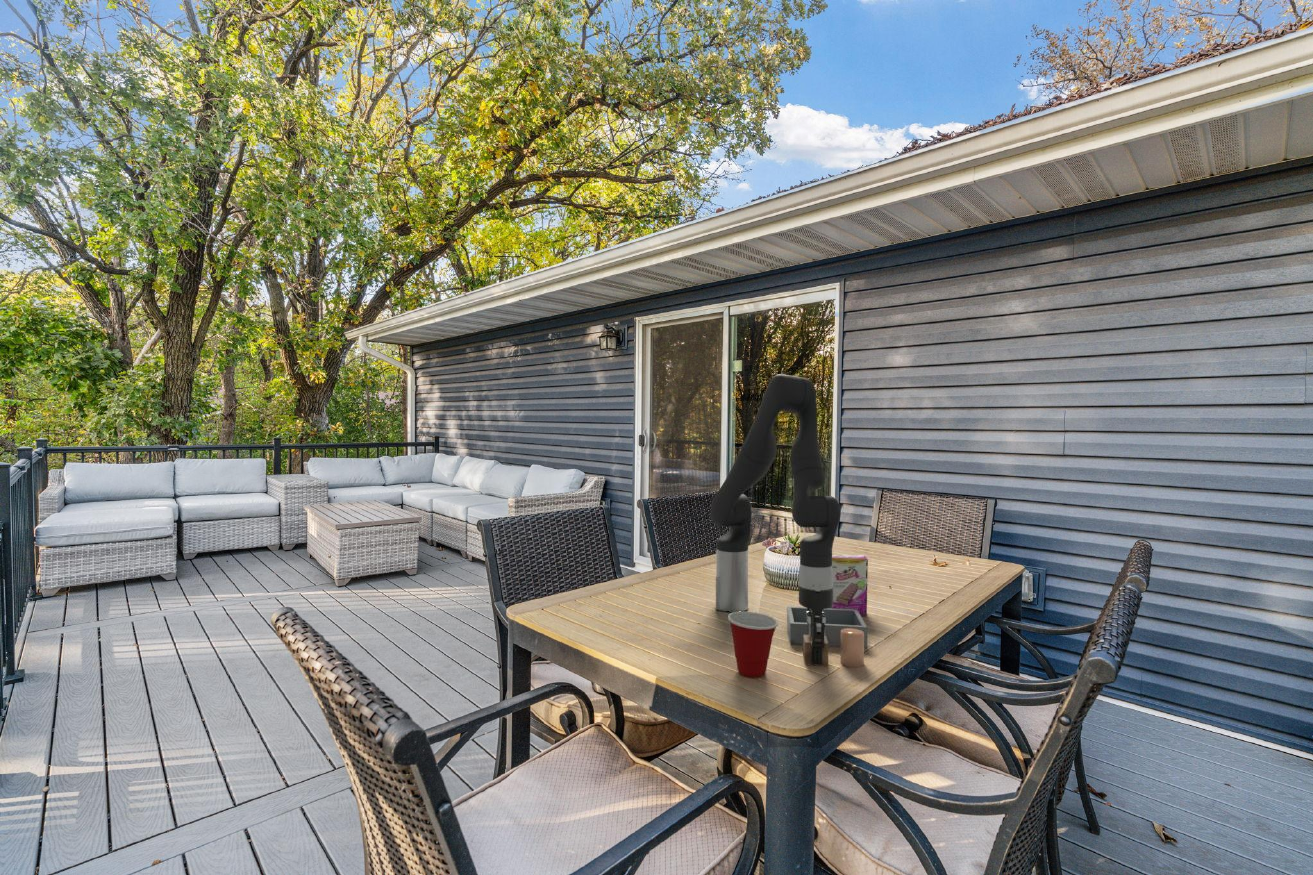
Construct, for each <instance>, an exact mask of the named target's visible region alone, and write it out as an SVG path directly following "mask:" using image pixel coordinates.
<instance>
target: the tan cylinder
mask: <svg viewBox="0 0 1313 875" xmlns="http://www.w3.org/2000/svg"><path fill="white" fill-rule="evenodd" d="M840 663H841V664H842V665H843V666H845V667H848V668H849V667H850V668H861V667H864V665H865V648H864V632H863V631H861V630H858V629H853V628H845V629H842V630H841V647H840Z"/></svg>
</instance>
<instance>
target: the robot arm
mask: <svg viewBox="0 0 1313 875" xmlns="http://www.w3.org/2000/svg"><path fill="white" fill-rule="evenodd" d="M817 407H818V406H817V395H816V389H815V386H814V383H813V382H812V380H810V379H809V378H807V377H802V376H797V375H791V374H790V375H789V374H785V373H783V374H781V373H779V374H778V373H777V374H776V375H774V376H773V377H772V378H771V379H770V381H769V383H768V385H767V387H766V389H765V391H764V394H763V397H762V400H761V403H760V405H759V408H758V410H757V413H756V416H755V419H754V421H753V423H752V425H751V428H750V430H749V432H748V433H747V436H746V437H745V440H744V442H743V443H742V445H741V448H740V449H739V452H738V454H737V457H736V459H735V461H734V463H733V465H732V467H731V469H730V470H729V473H728V475H727V476H726V478H725V480H724V481H723V483H722V484H721V486H720V488H719V490H718V491H717V492H716V494H715V495H714V497H713V499H712V502H711V504H710V510H709V516H710V519H711V522H712V523H713V524H714V525H715V526H718V527H723V528H724V527H730V528H729V530H728V531H727V532H726V533H725V534H723V535H721V536H720V537H719V538H717V539H716V544H715V545H716V546H715V547H716V550H715V551H716V554H715V555H716V557H715V558H716V559H715V560H716V562H715V563H716V565H715V567H716V569H715V570H716V574H715V610H717V611H718V610H719V611H721V612H726V611H729V612H728V613H734V612H739V611H741V612H746V611H747V610H748V609H749V543H750V541H751V530H752V516H753V515H752V503H751V501H750V498H748V496H747V495H746V494H744V493H745V492H746V491H748V490H749V489H750V488H751V487H752V486H754V485H756V484H757V483H758V482H759V481H760V480H762V479H763V478H764V476H766V474H767V473H768V471H769V470H770V468H771V466H772V464H773V463H774V461H775V459H776V457H777V452H778V451H777V450H778V448H777V446H778V445H777V440H776V435H775V432H774V425H775V422H776V419H777V417H778V415H779V414H780V413H781V412H783V413H790V414H791V413H792V414H796V415H797V418H798V422H799V429H798V433H797V434H796V437H795V440H794V441H793V443H792V446H791V448H790V455H789V458H790V459H789V460H790V465H791V472H792V476H793V483H794V485H793V499H792V500H793V502H792V507H791V508H792V510H791V515H792V519H793V521H794V522H795V524H796V525H797V526H799V527H800V528H819V529H818V532H817V533H816V534H814V535H810V536H806V537H804V538H802V539H801V541H800V545H799V568H798V569H799V570H798V603H799V605H800V606H801V607H806V608H807V609H808V611H806V619H807V630H808V632H809V633H808V635H809V636H811V647H812V663H813V664H818V665H817V666H822V665H821V664H822V648H824V646H825V645H824V636H825V623H826V617H825V615H824V612H822V610H823V609H828V608H830V607H832V606H833V570H832V554H833V545H834V541H835V537H836V533H837V530H838V527H839V523H840V521H841V514H842V510H841V506H840V503H839V501H838V500H837V499H836V498H835V497H834V496H831V495H809V494H808V492H813V491H815V490H819V489H821V488H822V487H823V486H824V485H825V484H826V476H825V472H824V467H823V461H822V458H821V452H820V448H819V439H818V438H819V436H818V413H817V412H818V411H817V410H818V409H817ZM815 639H820V642H815Z"/></svg>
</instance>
